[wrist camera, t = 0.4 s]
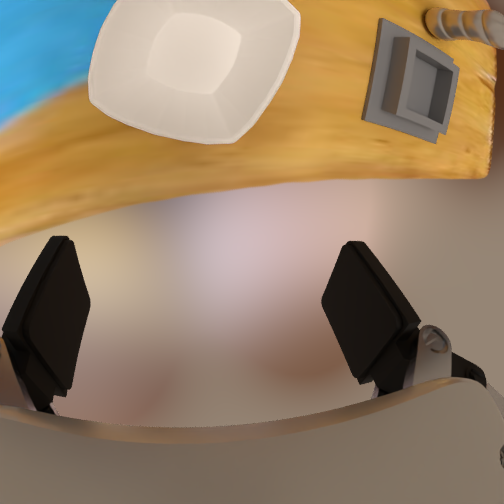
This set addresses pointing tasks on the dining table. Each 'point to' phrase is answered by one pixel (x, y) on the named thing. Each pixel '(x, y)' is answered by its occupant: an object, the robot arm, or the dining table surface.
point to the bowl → (192, 65)
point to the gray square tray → (410, 84)
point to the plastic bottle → (467, 25)
